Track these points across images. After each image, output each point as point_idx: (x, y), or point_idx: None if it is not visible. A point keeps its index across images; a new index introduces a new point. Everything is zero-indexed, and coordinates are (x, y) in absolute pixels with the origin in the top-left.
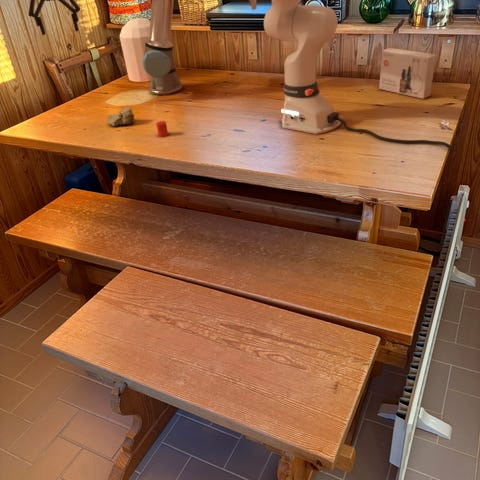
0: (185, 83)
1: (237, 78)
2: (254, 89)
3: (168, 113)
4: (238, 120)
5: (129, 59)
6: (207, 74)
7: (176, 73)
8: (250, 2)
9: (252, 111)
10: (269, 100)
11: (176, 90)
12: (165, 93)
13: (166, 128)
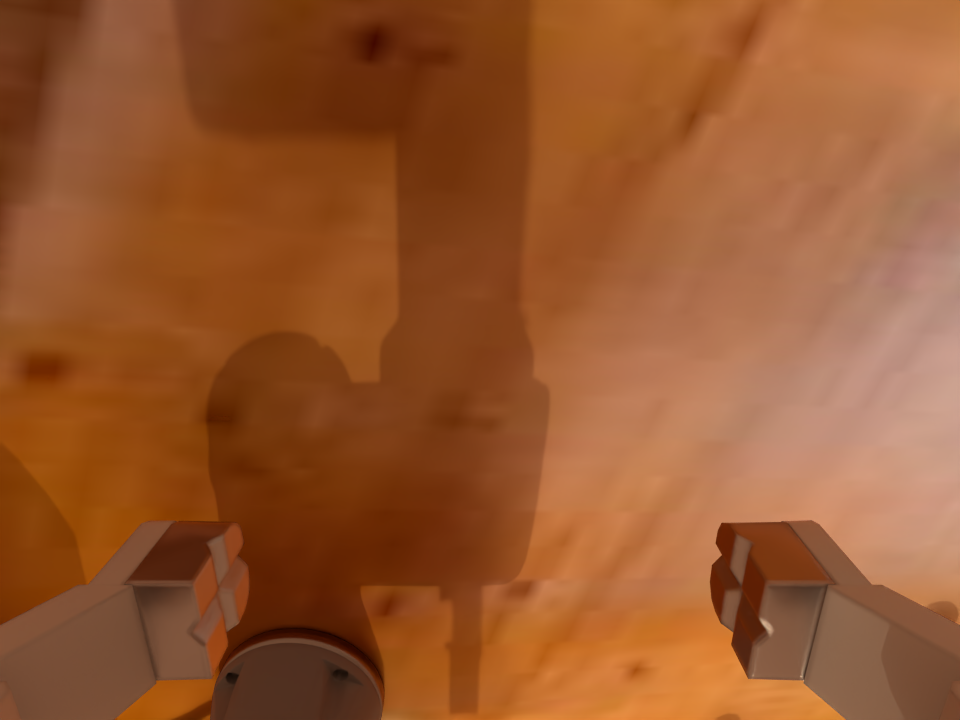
0: None
1: (149, 341)
2: (423, 253)
3: (661, 665)
4: (921, 380)
5: None
6: (26, 510)
7: (267, 712)
8: (217, 645)
9: (824, 301)
10: (680, 182)
11: (355, 656)
12: (383, 696)
13: None
